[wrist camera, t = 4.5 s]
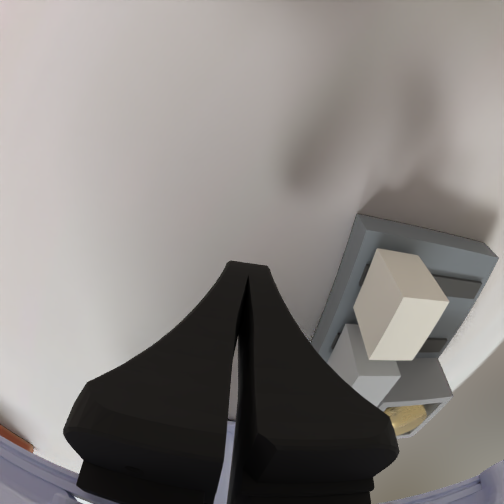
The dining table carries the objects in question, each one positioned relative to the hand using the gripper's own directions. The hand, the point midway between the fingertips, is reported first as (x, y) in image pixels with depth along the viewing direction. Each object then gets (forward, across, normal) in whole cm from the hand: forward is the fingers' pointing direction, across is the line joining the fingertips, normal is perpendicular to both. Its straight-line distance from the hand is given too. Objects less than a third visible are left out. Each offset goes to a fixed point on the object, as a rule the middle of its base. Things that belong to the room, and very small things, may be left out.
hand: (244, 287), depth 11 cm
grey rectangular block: (+2, -6, +4) cm, 7 cm away
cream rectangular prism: (+2, -6, 0) cm, 6 cm away
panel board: (+3, -8, +4) cm, 10 cm away
